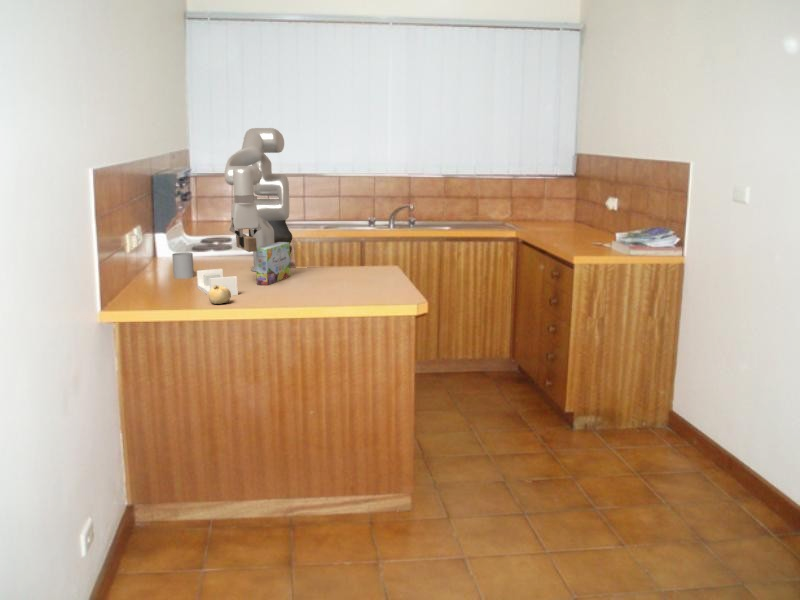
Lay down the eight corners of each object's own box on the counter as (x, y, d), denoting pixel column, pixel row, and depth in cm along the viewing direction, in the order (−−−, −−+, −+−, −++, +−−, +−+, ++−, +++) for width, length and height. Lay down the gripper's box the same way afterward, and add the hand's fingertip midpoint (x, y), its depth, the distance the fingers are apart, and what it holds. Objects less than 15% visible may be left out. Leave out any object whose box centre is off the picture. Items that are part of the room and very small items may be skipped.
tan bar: (244, 246, 315) (243, 233, 314) (256, 251, 301) (256, 238, 300) (236, 246, 313) (235, 234, 312) (248, 251, 300) (248, 239, 299)
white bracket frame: (222, 285, 314) (221, 268, 312) (237, 294, 296) (236, 276, 294) (197, 288, 309) (196, 270, 308) (211, 297, 291) (210, 279, 289)
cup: (188, 279, 328) (186, 255, 326) (170, 278, 330) (168, 255, 328) (197, 275, 336) (195, 252, 334) (179, 275, 338) (178, 252, 336)
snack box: (268, 285, 314) (267, 248, 310) (256, 285, 315) (254, 248, 312) (291, 276, 333) (290, 241, 330) (279, 276, 335) (277, 241, 332)
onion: (210, 301, 285) (209, 282, 283) (232, 300, 285) (231, 281, 284) (206, 306, 277) (205, 286, 275) (229, 305, 277) (228, 286, 276)
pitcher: (244, 257, 387) (241, 206, 382) (267, 251, 406) (265, 203, 401) (279, 259, 379) (277, 207, 374) (302, 253, 399) (300, 204, 393)
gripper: (261, 197, 310) (263, 243, 314) (221, 200, 302) (223, 246, 306) (267, 199, 303) (269, 246, 307) (226, 201, 296) (229, 249, 300)
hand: (246, 246), depth 307 cm, fingers closed on tan bar, 2 cm apart
